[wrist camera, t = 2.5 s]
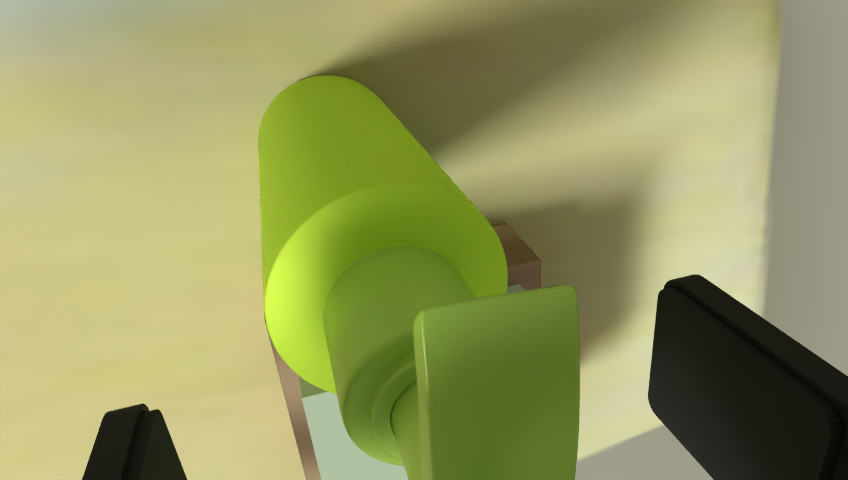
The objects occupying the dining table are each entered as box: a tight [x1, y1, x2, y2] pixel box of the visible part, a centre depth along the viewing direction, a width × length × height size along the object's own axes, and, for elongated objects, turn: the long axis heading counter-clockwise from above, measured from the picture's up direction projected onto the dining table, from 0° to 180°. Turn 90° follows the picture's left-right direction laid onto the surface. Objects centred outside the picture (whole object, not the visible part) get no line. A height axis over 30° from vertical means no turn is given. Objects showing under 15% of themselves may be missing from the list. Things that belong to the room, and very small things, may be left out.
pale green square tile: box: [299, 284, 525, 480], centre depth 26 cm, size 10×10×4 cm
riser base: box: [264, 224, 541, 480], centre depth 29 cm, size 12×12×4 cm
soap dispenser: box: [258, 75, 580, 480], centre depth 16 cm, size 6×7×20 cm
